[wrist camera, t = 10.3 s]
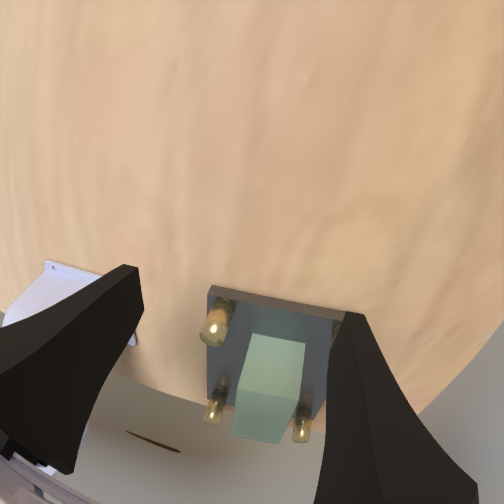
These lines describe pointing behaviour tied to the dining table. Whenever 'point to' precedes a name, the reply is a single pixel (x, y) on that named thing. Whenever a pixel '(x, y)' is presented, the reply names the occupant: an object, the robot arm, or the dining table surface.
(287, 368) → the board block
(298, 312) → the plate
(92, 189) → the dining table surface
